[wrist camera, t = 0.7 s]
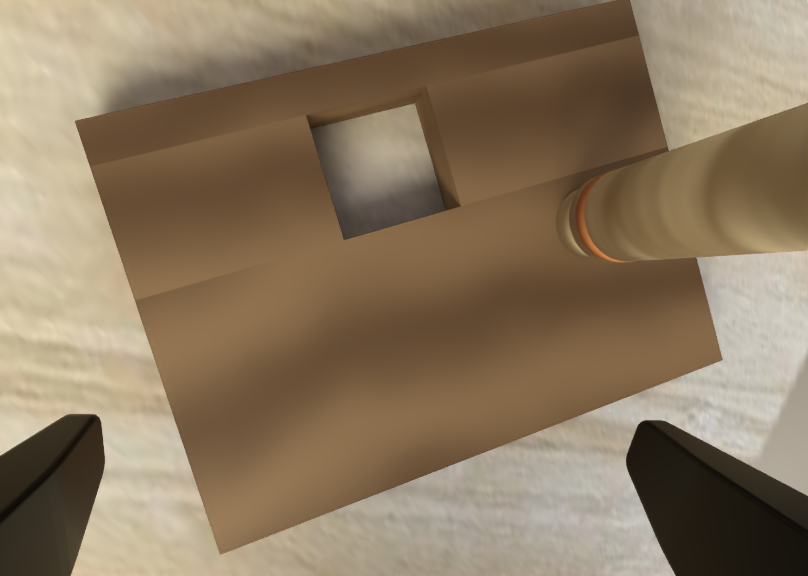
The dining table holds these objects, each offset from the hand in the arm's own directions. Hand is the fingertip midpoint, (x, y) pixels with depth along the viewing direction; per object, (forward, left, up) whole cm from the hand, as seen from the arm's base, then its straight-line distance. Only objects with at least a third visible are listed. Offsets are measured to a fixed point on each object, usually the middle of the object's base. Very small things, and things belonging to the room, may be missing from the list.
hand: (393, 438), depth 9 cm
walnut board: (+2, -5, -14) cm, 15 cm away
